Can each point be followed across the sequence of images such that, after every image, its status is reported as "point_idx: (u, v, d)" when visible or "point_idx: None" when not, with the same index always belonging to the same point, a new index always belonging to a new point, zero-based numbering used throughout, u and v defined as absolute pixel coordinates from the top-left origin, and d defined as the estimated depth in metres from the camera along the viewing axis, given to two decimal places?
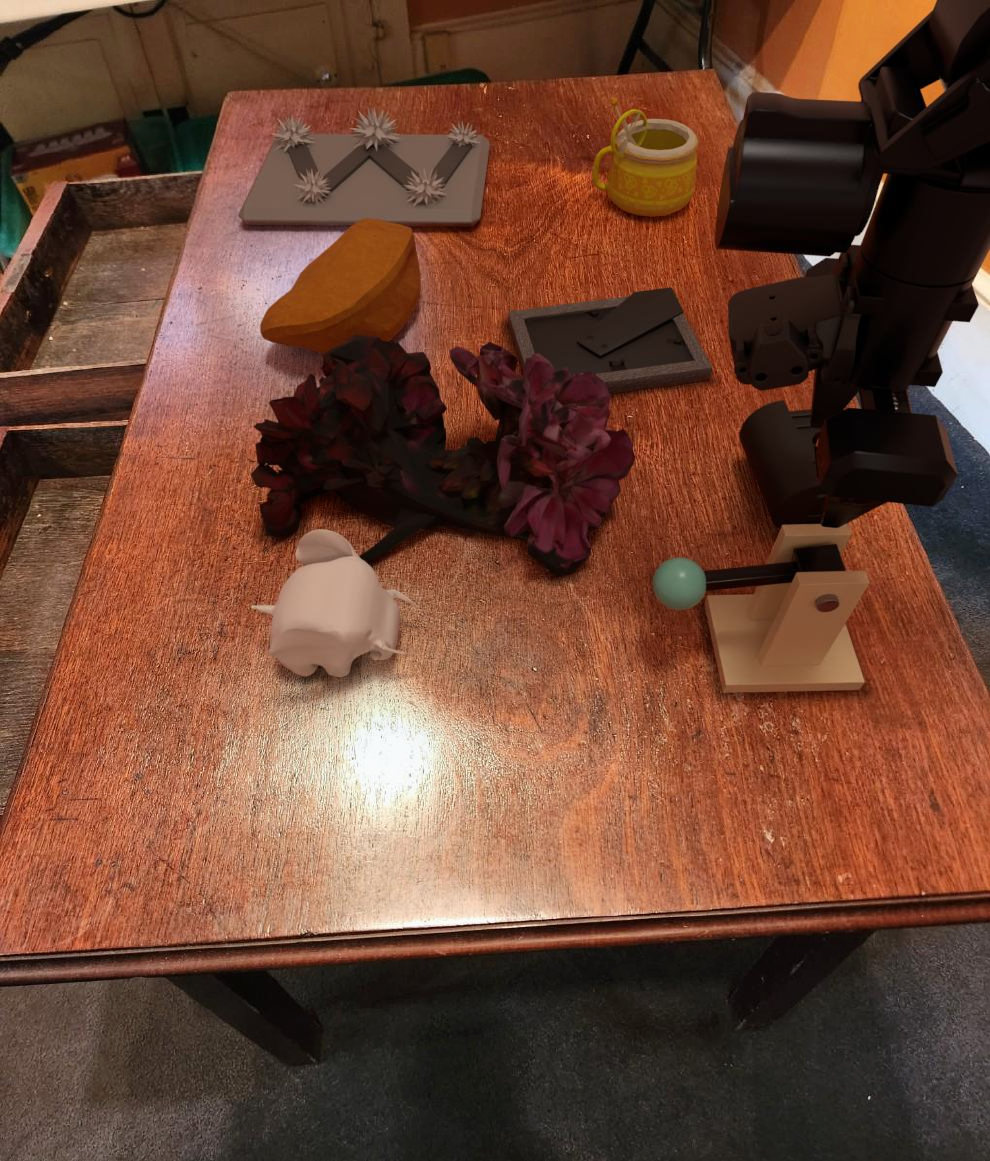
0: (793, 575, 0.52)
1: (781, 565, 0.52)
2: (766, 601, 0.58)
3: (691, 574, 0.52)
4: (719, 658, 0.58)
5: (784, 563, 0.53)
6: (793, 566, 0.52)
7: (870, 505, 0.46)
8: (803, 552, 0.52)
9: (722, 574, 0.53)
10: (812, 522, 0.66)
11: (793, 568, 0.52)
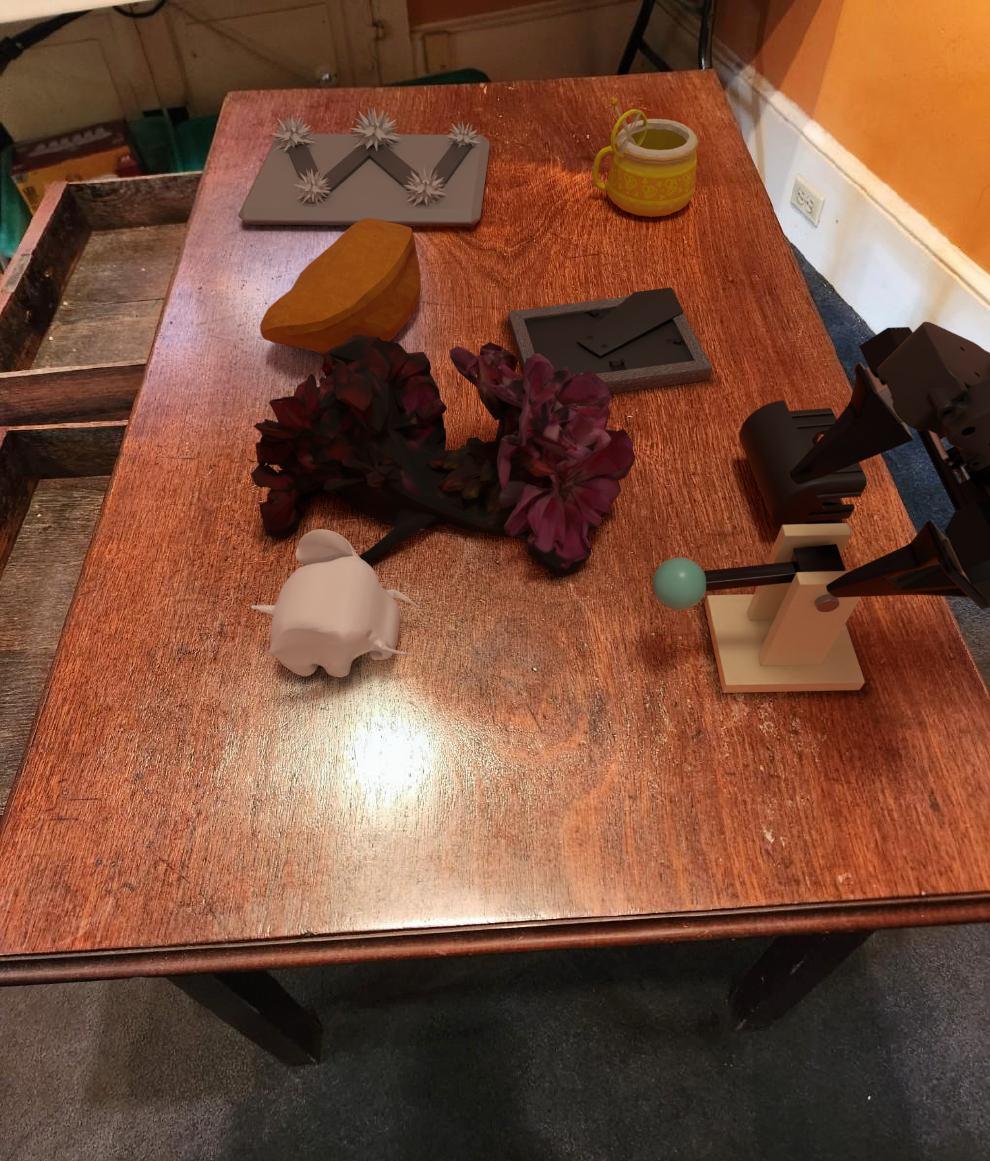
0: (793, 575, 0.52)
1: (781, 565, 0.52)
2: (766, 601, 0.58)
3: (691, 574, 0.52)
4: (719, 658, 0.58)
5: (784, 563, 0.53)
6: (793, 566, 0.52)
7: (901, 591, 0.45)
8: (803, 552, 0.52)
9: (722, 574, 0.53)
10: (812, 522, 0.66)
11: (793, 568, 0.52)
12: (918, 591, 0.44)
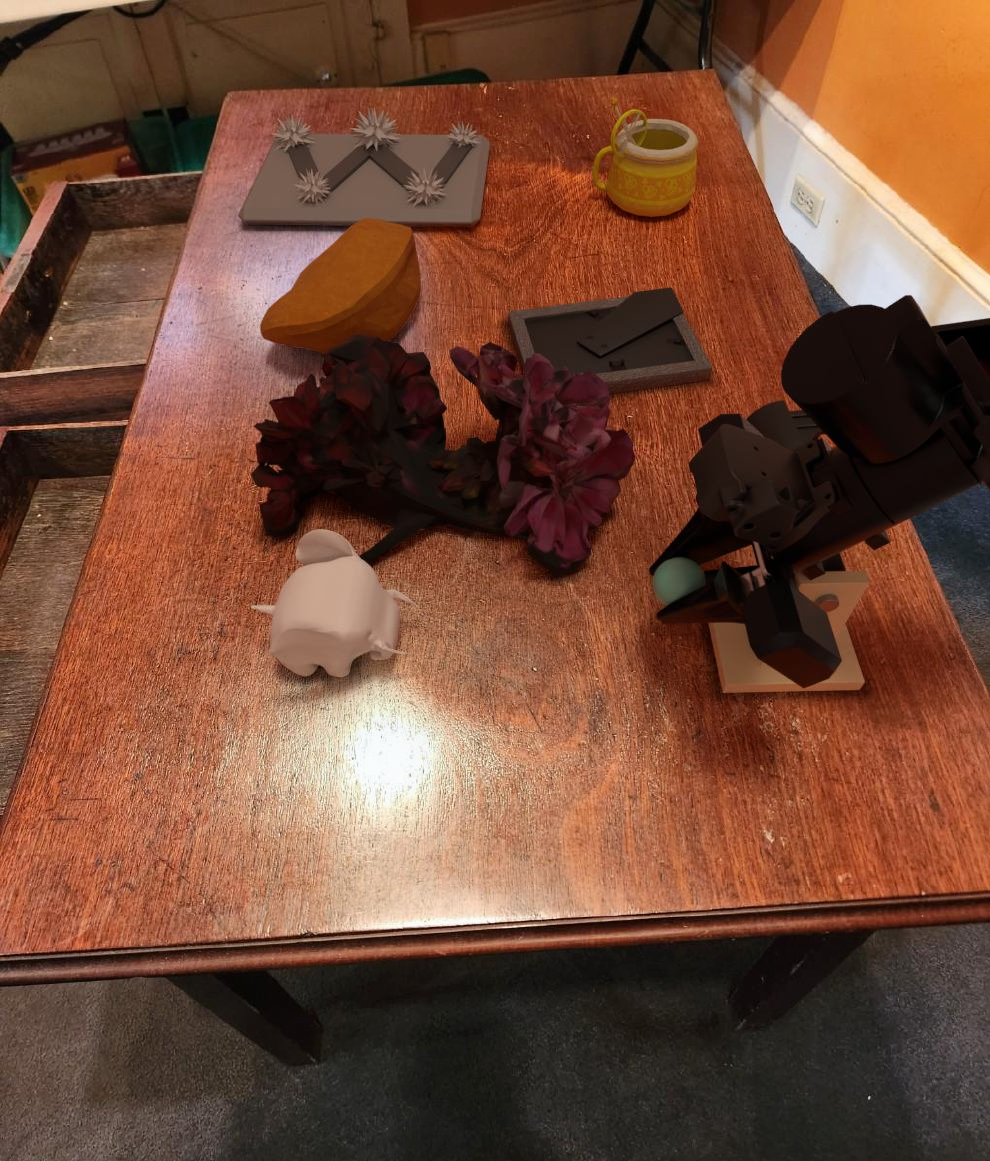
0: None
1: None
2: None
3: (691, 574, 0.52)
4: (719, 658, 0.58)
5: None
6: None
7: (715, 619, 0.52)
8: None
9: None
10: None
11: None
12: (728, 620, 0.51)
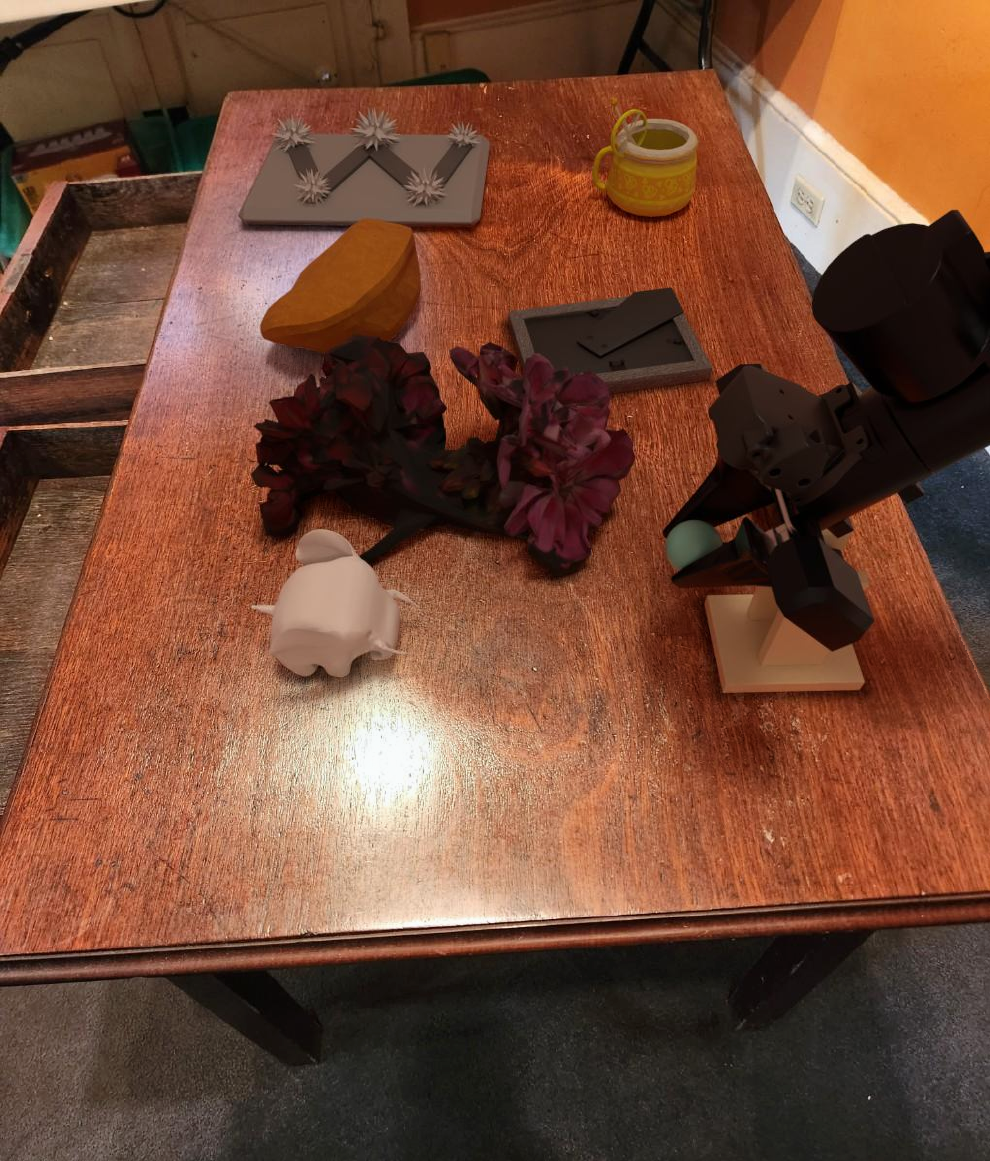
0: None
1: None
2: (766, 601, 0.58)
3: (716, 540, 0.49)
4: (719, 658, 0.58)
5: None
6: None
7: (734, 582, 0.48)
8: None
9: None
10: None
11: None
12: (748, 582, 0.48)
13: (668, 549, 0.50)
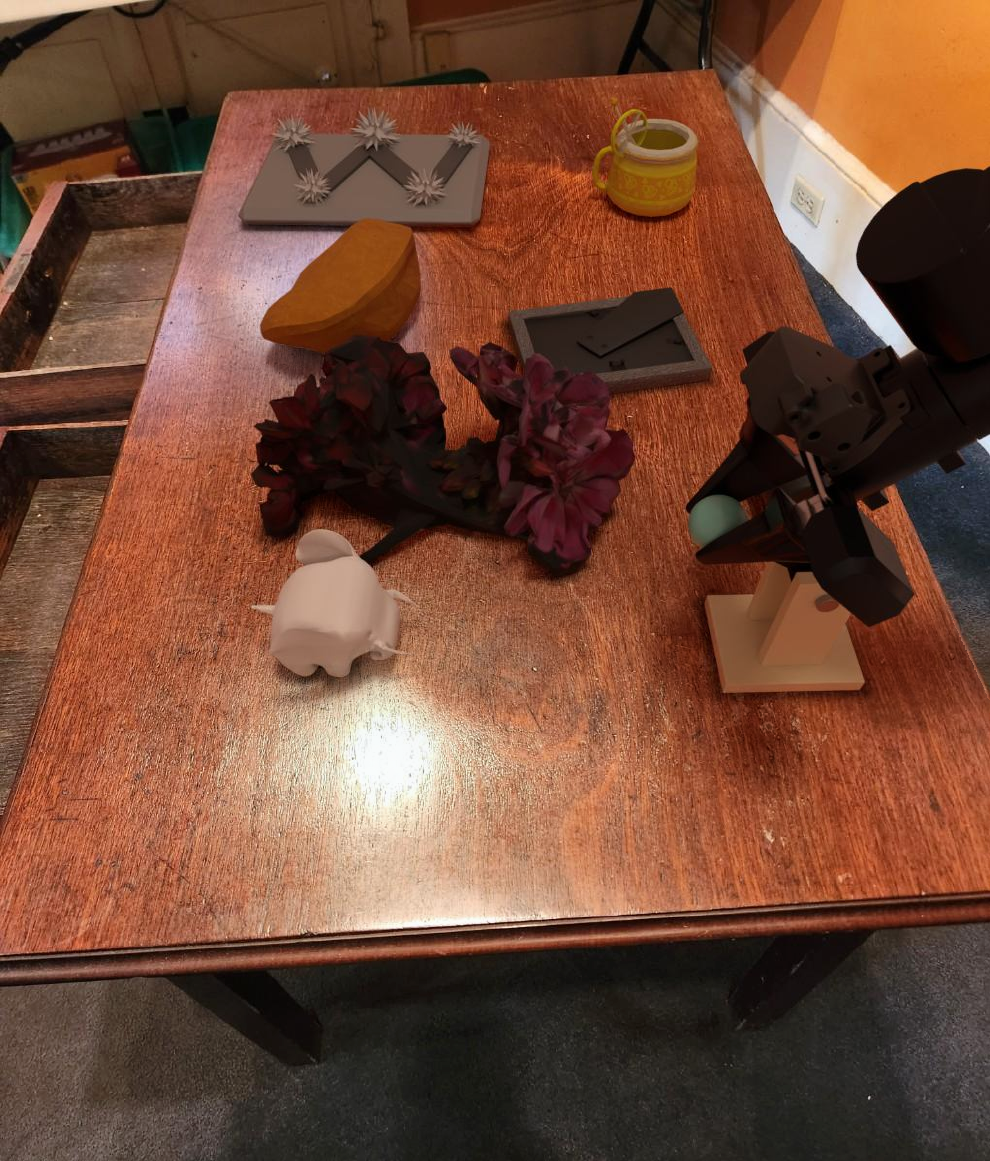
0: (805, 565, 0.51)
1: None
2: (766, 601, 0.58)
3: (746, 519, 0.48)
4: (719, 658, 0.58)
5: None
6: None
7: (762, 558, 0.46)
8: None
9: None
10: None
11: None
12: (778, 558, 0.46)
13: (695, 520, 0.48)
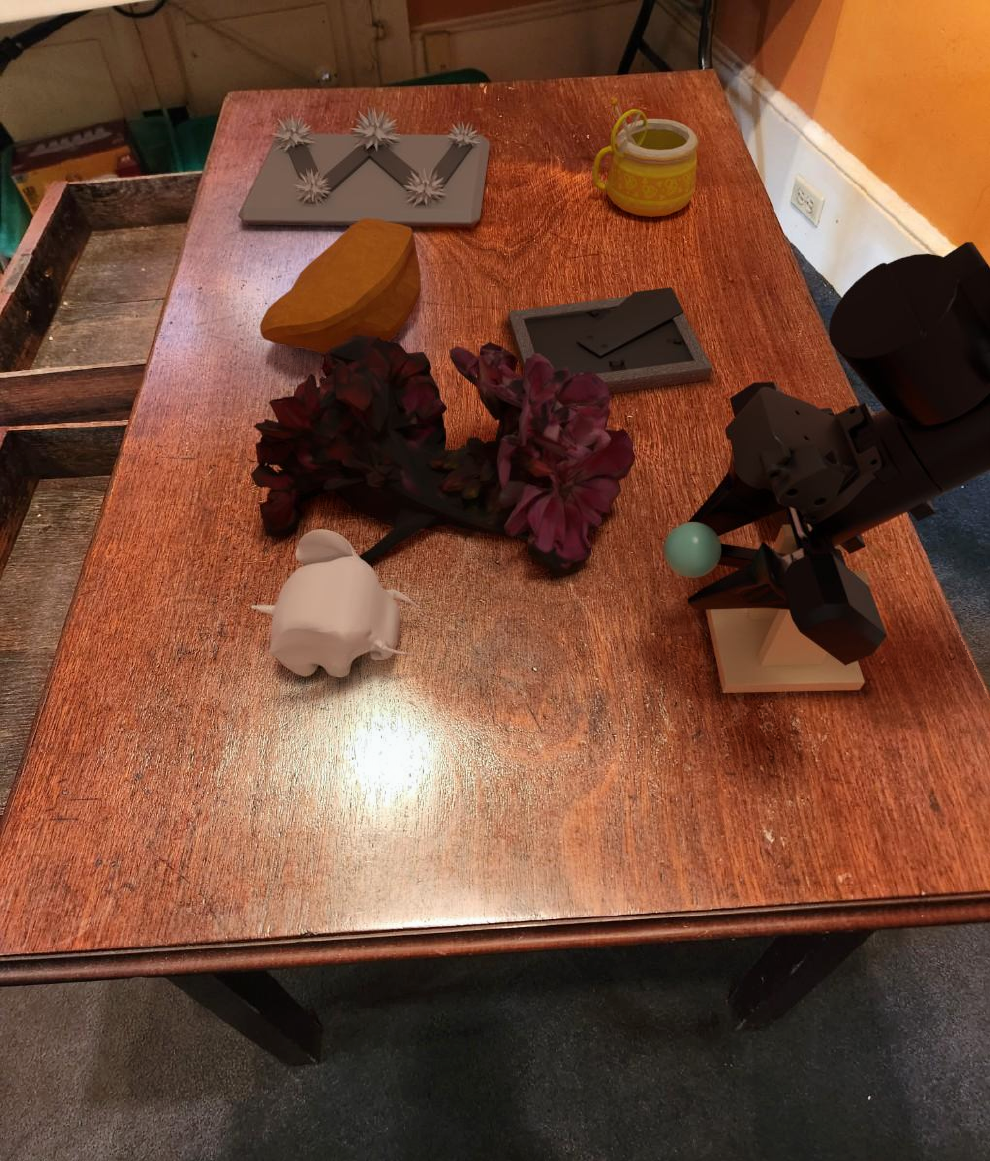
0: None
1: None
2: None
3: (714, 541, 0.49)
4: (719, 658, 0.58)
5: None
6: None
7: (750, 605, 0.49)
8: None
9: (736, 550, 0.51)
10: None
11: None
12: (764, 605, 0.49)
13: (666, 551, 0.50)
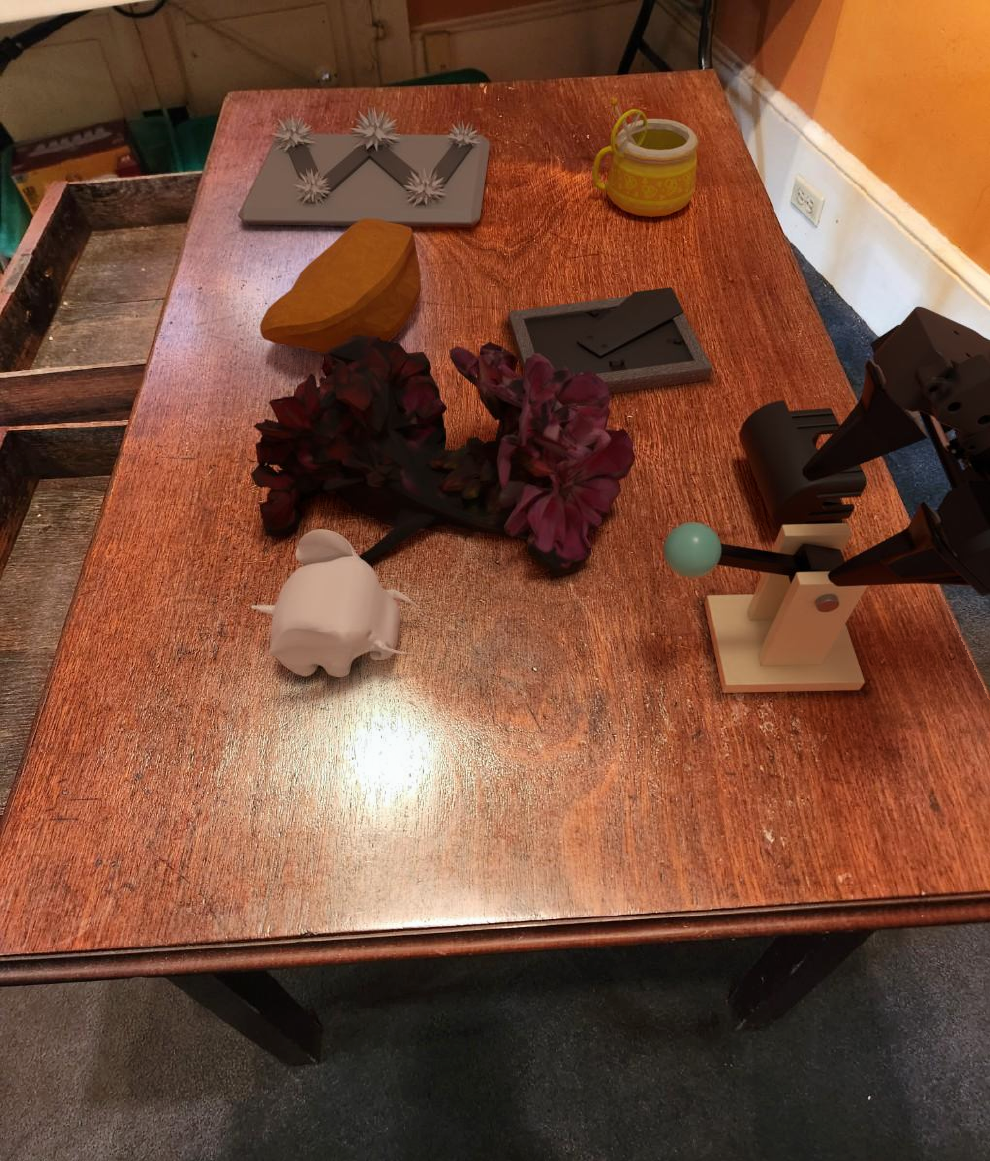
0: (799, 569, 0.51)
1: (789, 557, 0.52)
2: (766, 601, 0.58)
3: (714, 541, 0.49)
4: (719, 658, 0.58)
5: (791, 555, 0.52)
6: (799, 560, 0.52)
7: (902, 579, 0.44)
8: (812, 549, 0.52)
9: (736, 550, 0.51)
10: (812, 522, 0.66)
11: (800, 562, 0.52)
12: (919, 579, 0.44)
13: (666, 551, 0.50)
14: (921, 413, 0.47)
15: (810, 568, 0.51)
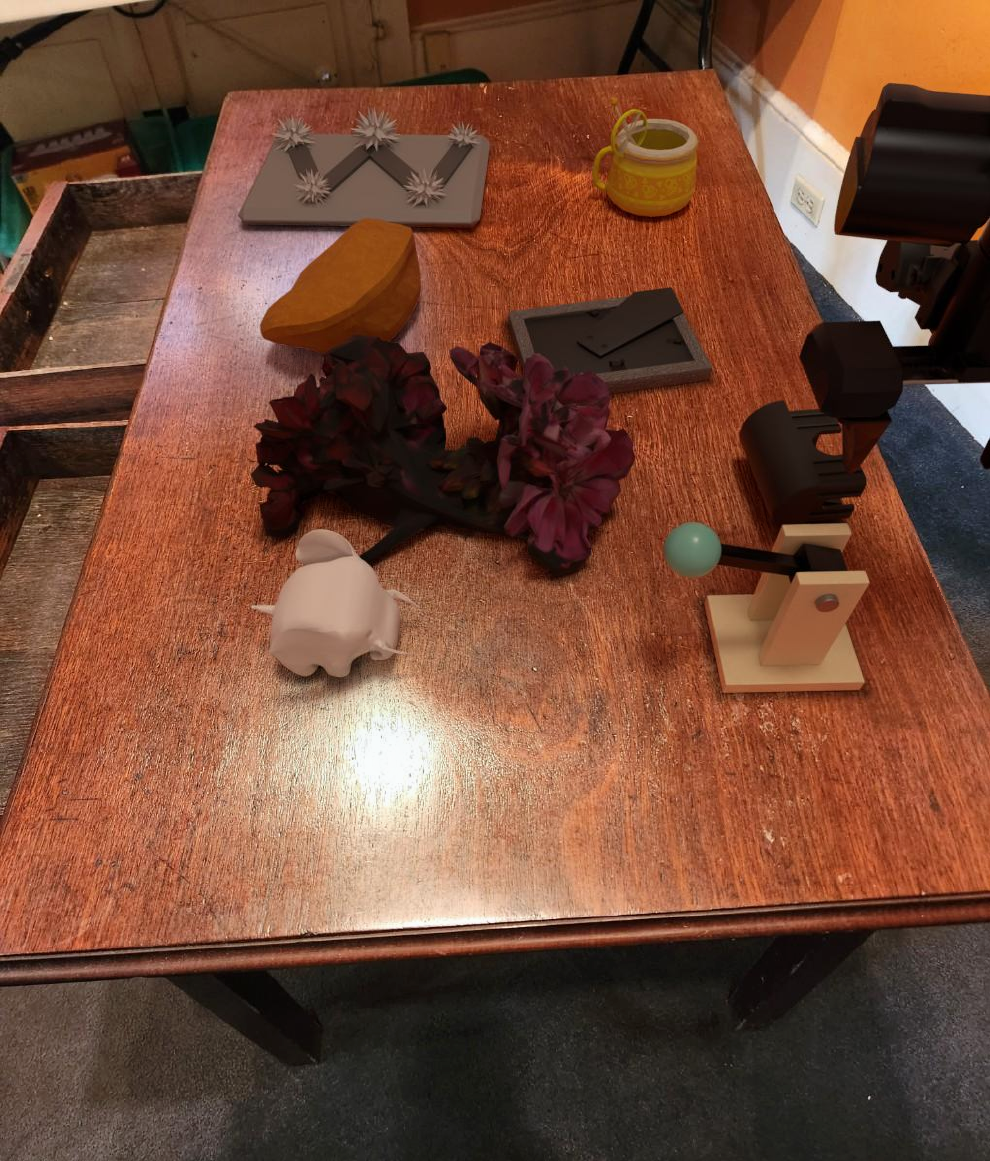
0: (799, 569, 0.51)
1: (789, 557, 0.52)
2: (766, 601, 0.58)
3: (714, 541, 0.49)
4: (719, 658, 0.58)
5: (791, 555, 0.52)
6: (799, 560, 0.52)
7: (851, 444, 0.50)
8: (812, 549, 0.52)
9: (736, 550, 0.51)
10: (812, 522, 0.66)
11: (800, 562, 0.52)
12: (853, 438, 0.49)
13: (666, 551, 0.50)
14: None
15: (810, 568, 0.51)
